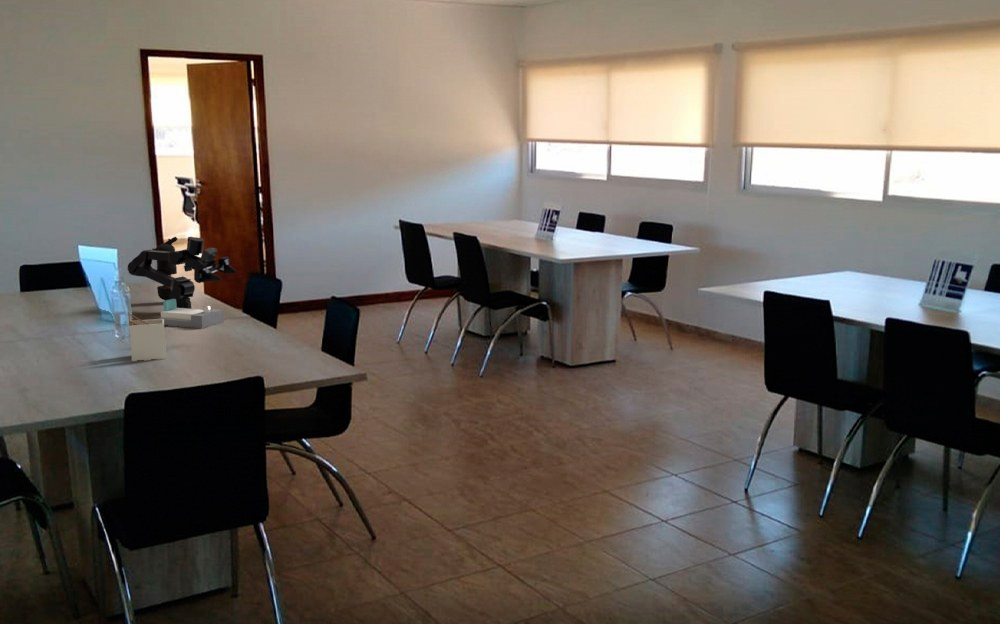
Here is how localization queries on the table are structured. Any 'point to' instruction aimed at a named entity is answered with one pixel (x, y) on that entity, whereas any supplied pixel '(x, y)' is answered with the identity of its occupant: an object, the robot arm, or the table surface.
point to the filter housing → (197, 319)
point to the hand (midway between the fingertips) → (228, 275)
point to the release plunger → (206, 309)
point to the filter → (166, 267)
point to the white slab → (177, 311)
